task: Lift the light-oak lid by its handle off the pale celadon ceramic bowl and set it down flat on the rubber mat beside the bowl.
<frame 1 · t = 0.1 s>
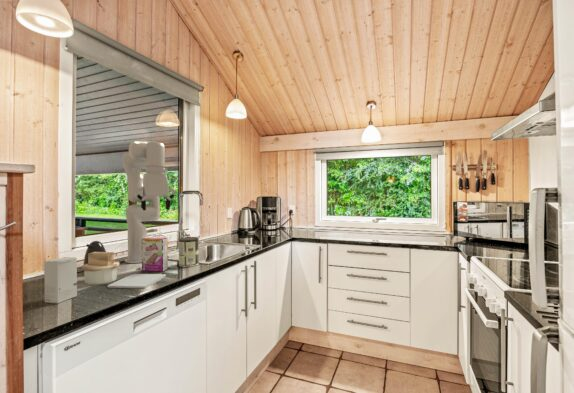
hand: (156, 209, 135), 31 cm above the countertop, tool pointing down, fingers open, 9 cm apart
skincare box: (61, 299, 112), on the countertop
mat: (138, 281, 134), on the countertop
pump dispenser: (95, 272, 149), on the countertop
lid: (101, 269, 135), point 5 cm above the countertop, touching bowl
coffee can: (188, 265, 164), on the countertop
candy bar box: (154, 271, 152), on the countertop
bowl: (101, 280, 135), on the countertop
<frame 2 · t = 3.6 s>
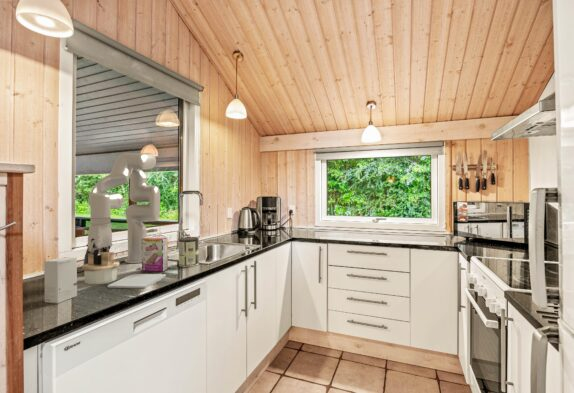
hand: (101, 262, 135), 8 cm above the countertop, tool pointing down, fingers closed on lid, 4 cm apart
lid: (101, 269, 135), point 5 cm above the countertop, touching bowl, gripper
everything else where it was.
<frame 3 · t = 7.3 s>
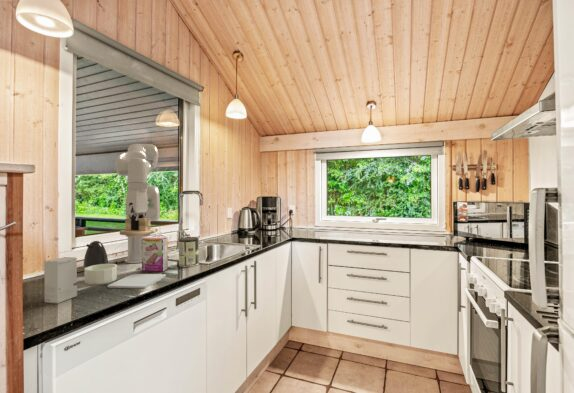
hand: (138, 228, 134), 23 cm above the countertop, tool pointing down, fingers closed on lid, 4 cm apart
lid: (138, 235, 134), point 20 cm above the countertop, touching gripper
everything else where it was.
when the fingers open (5 cm above the countertop, at t = 11.3 s): lid drops 2 cm, resting on mat.
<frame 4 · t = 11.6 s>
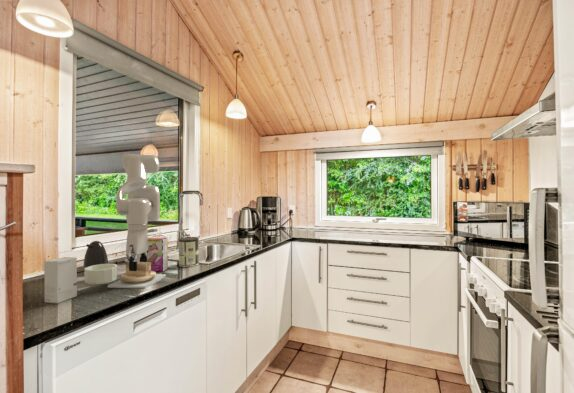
hand: (138, 268, 134), 6 cm above the countertop, tool pointing down, fingers open, 7 cm apart
lid: (138, 279, 134), point 1 cm above the countertop, touching mat
everything else where it was.
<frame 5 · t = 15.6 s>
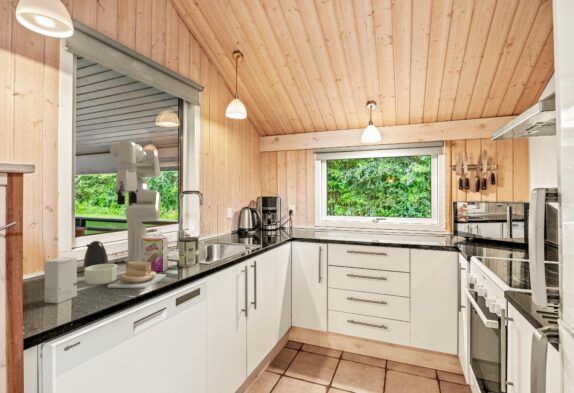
hand: (127, 203, 146), 33 cm above the countertop, tool pointing down, fingers open, 9 cm apart
nothing on the countertop moved.
at the end: lid inside the target area on the mat (0.1 cm from its centre), point 0.8 cm above the mat's base; lid tilted 0°; the gripper is holding nothing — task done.
